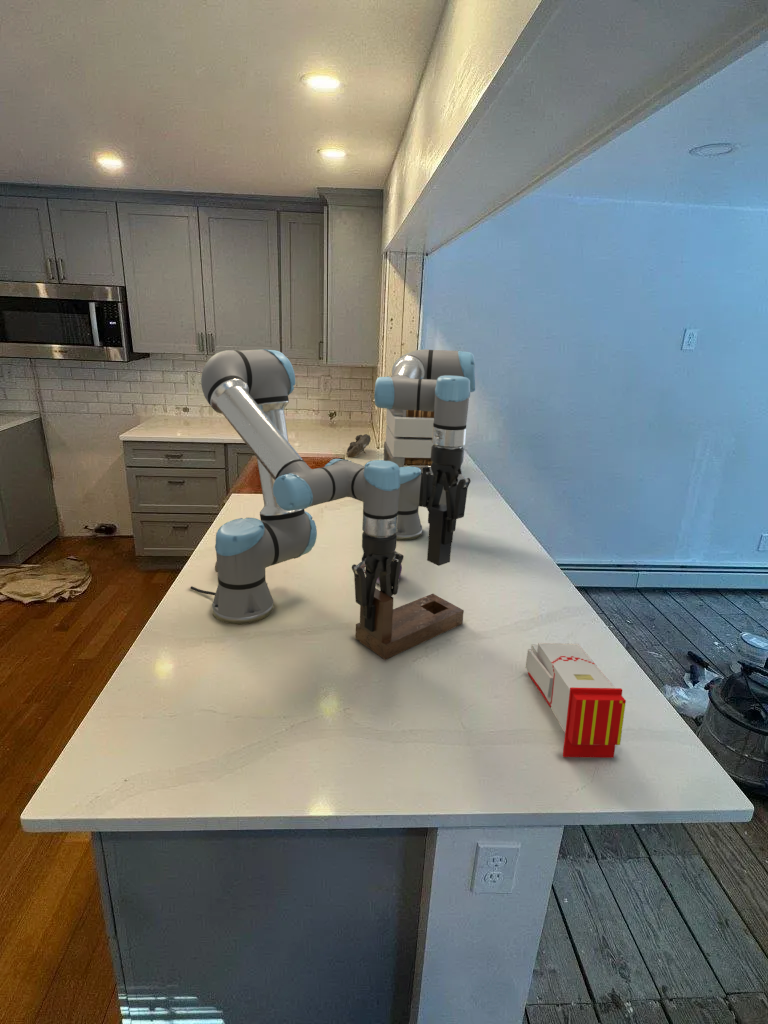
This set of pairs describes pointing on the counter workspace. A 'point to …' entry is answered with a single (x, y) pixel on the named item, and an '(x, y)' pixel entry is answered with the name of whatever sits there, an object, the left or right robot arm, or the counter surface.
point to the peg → (438, 537)
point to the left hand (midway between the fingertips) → (375, 626)
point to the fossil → (358, 445)
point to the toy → (578, 698)
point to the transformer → (409, 437)
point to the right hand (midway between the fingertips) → (440, 540)
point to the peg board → (406, 623)
